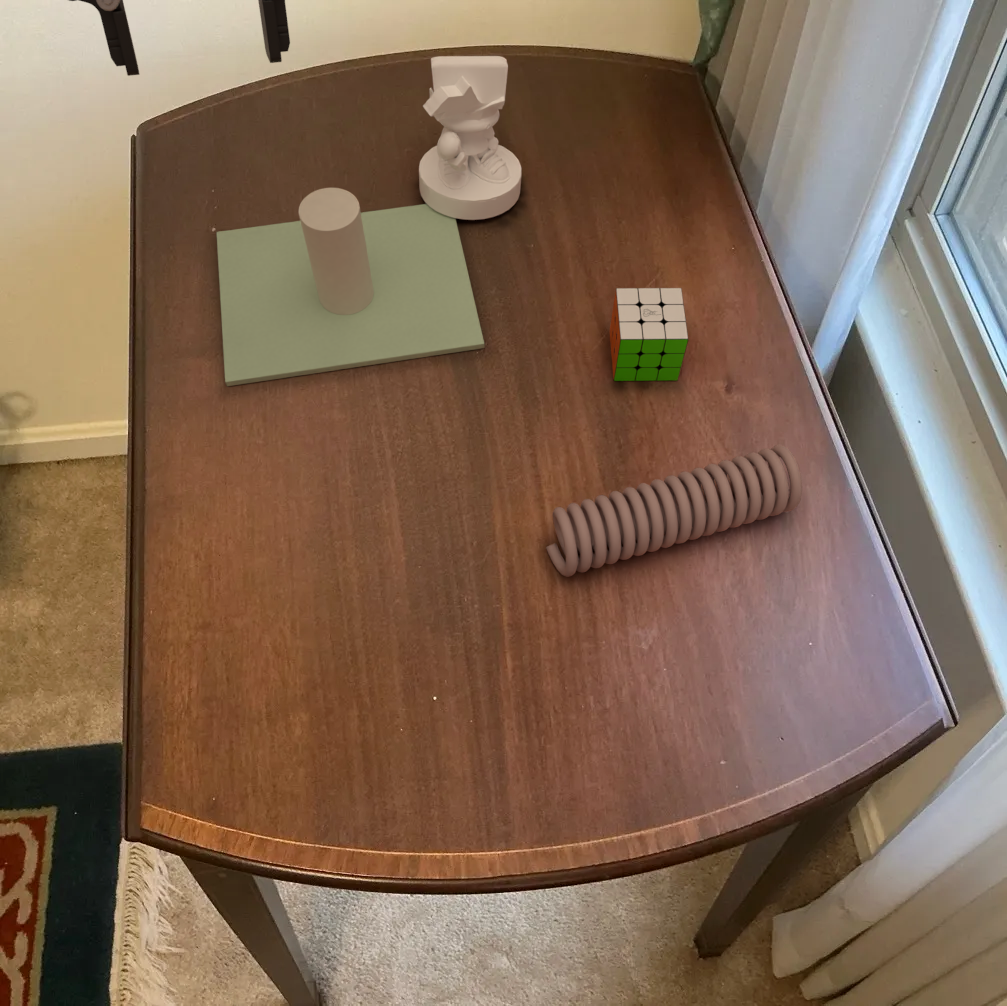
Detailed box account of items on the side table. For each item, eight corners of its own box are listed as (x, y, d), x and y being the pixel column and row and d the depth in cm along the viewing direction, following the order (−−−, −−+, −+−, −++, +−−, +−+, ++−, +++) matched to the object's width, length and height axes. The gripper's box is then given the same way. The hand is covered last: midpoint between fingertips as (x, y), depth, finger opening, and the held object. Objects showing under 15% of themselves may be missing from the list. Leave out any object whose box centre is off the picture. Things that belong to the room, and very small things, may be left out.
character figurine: (421, 221, 81) (418, 89, 71) (416, 151, 86) (412, 20, 76) (525, 218, 82) (536, 88, 72) (513, 149, 87) (522, 19, 77)
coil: (786, 428, 66) (539, 497, 64) (819, 479, 64) (563, 554, 61) (773, 470, 70) (539, 537, 67) (804, 519, 67) (562, 591, 65)
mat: (226, 386, 74) (224, 382, 73) (218, 236, 81) (216, 231, 81) (484, 348, 75) (484, 343, 75) (451, 205, 83) (451, 200, 83)
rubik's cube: (677, 381, 74) (688, 339, 70) (612, 381, 74) (619, 339, 70) (672, 330, 76) (682, 287, 72) (609, 330, 76) (615, 287, 72)
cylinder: (321, 318, 76) (301, 234, 68) (316, 277, 78) (295, 191, 70) (377, 310, 77) (362, 226, 69) (370, 270, 79) (355, 183, 71)
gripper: (-13, -258, 44) (85, 100, 55) (298, -261, 48) (331, 75, 59) (-7, -277, 49) (82, 54, 60) (273, -279, 53) (308, 34, 64)
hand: (205, 64), depth 60 cm, fingers open, 8 cm apart
